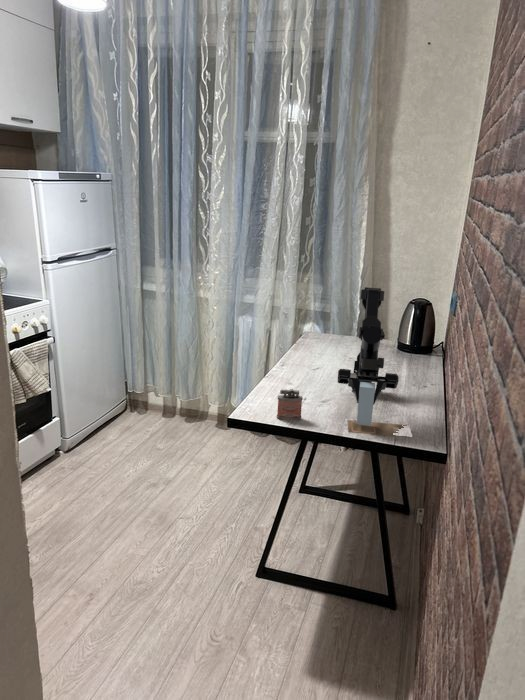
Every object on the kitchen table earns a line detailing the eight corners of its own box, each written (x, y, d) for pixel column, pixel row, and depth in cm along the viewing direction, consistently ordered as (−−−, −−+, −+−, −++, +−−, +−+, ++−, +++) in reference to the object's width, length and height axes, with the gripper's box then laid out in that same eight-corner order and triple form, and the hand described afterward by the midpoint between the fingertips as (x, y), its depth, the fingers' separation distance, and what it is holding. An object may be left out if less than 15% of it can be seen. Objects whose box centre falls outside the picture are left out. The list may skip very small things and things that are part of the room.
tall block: (356, 418, 173) (360, 381, 170) (370, 419, 173) (374, 383, 169) (356, 423, 169) (360, 386, 165) (371, 425, 169) (375, 388, 165)
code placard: (409, 425, 174) (409, 425, 174) (413, 438, 166) (413, 437, 166) (347, 420, 176) (347, 420, 176) (348, 432, 168) (348, 432, 168)
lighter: (300, 416, 178) (302, 388, 175) (301, 420, 175) (303, 391, 172) (276, 415, 178) (277, 387, 175) (276, 420, 175) (278, 391, 172)
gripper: (340, 344, 169) (336, 390, 162) (401, 349, 166) (399, 396, 159) (339, 360, 179) (335, 404, 172) (397, 365, 176) (395, 410, 169)
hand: (365, 403), depth 168 cm, fingers closed on tall block, 4 cm apart
